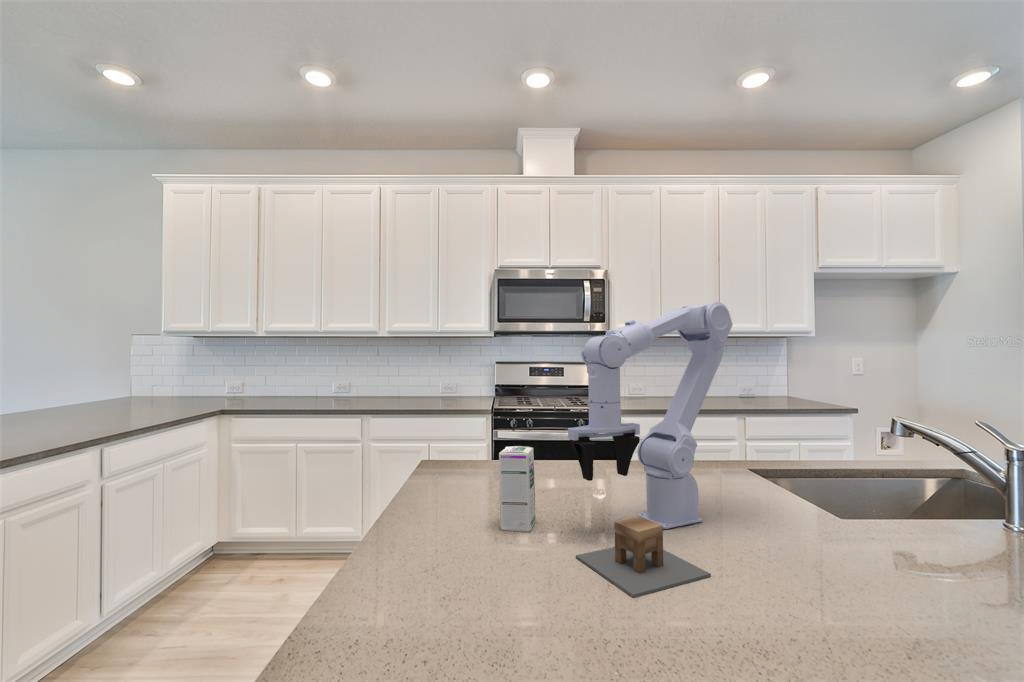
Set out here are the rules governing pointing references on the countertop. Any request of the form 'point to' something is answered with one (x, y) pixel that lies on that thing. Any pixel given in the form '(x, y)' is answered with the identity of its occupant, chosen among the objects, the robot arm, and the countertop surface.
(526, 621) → the countertop surface
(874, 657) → the countertop surface
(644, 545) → the notched brown block
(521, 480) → the syrup box
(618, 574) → the mat
